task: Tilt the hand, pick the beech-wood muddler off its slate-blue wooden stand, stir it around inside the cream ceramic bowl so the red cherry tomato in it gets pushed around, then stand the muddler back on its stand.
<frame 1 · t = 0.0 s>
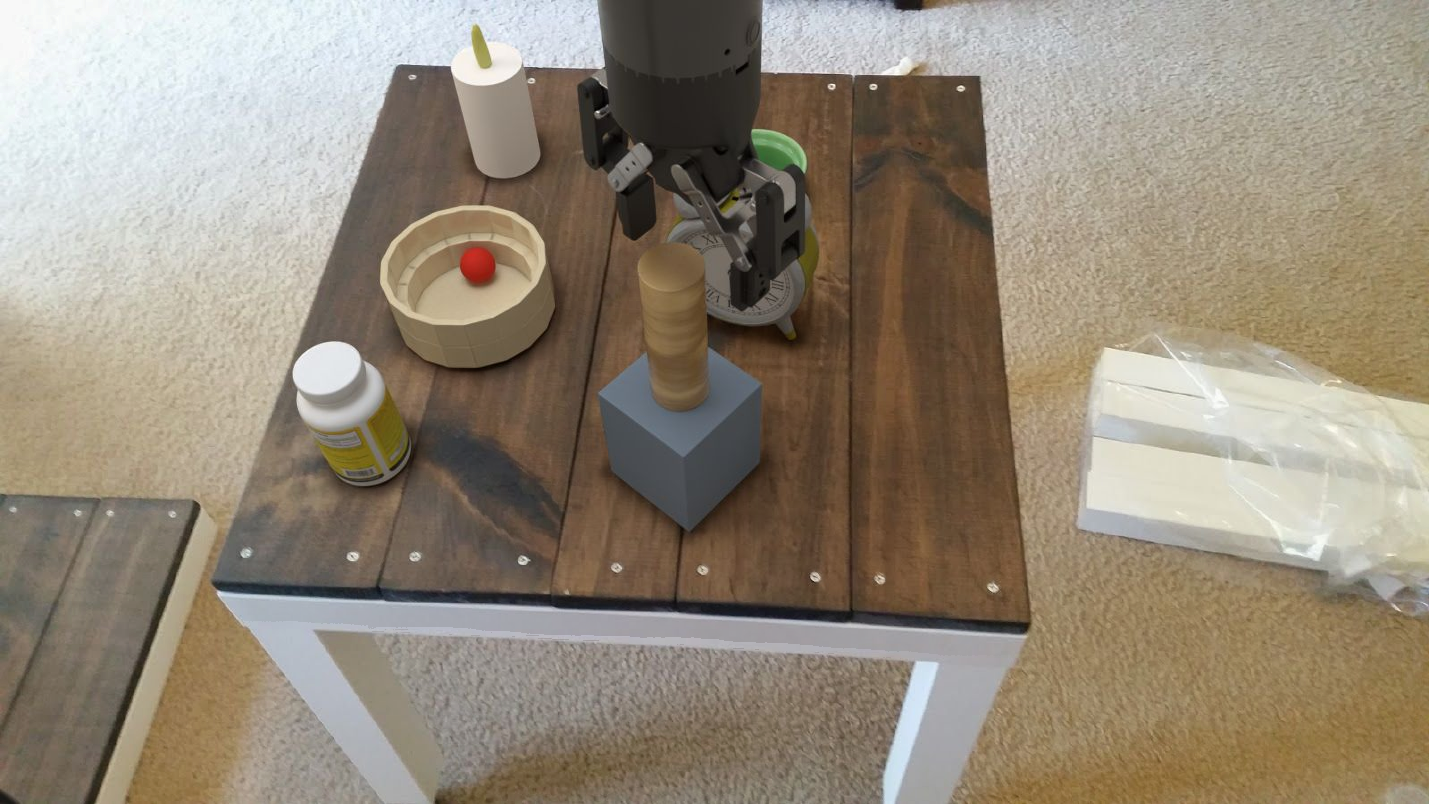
hand: (692, 265, 62), 22 cm above the table, tool pointing down, fingers open, 8 cm apart
stand: (685, 467, 80), on the table
bowl: (478, 311, 89), on the table
pill bottle: (373, 456, 81), on the table
ramekin: (756, 199, 97), on the table
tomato: (477, 265, 90), point 2 cm above the table, touching bowl
alarm clock: (744, 310, 89), on the table
candle: (508, 157, 101), on the table
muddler: (680, 388, 72), point 10 cm above the table, touching stand
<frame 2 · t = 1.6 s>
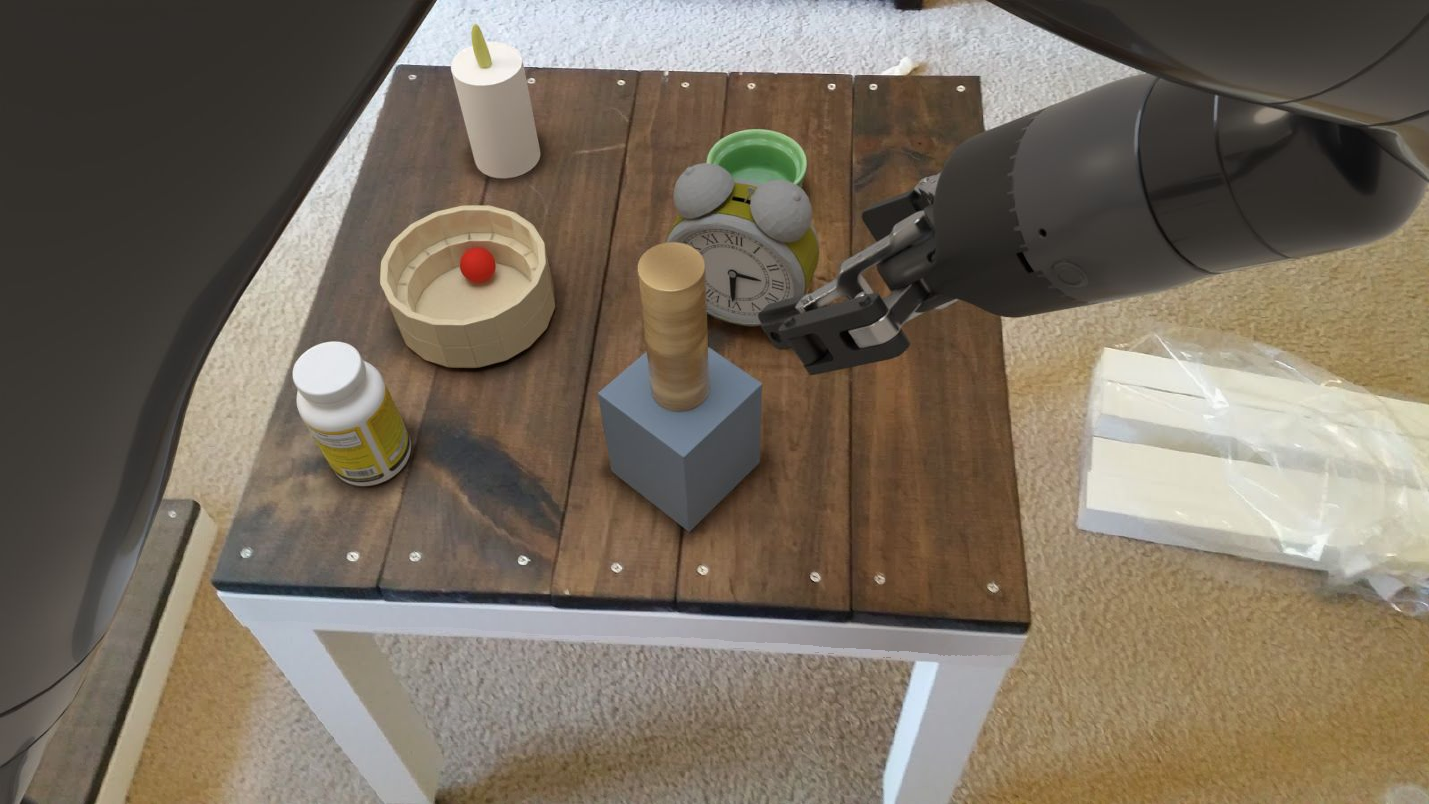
hand: (824, 276, 52), 29 cm above the table, tool tilted 45°, fingers open, 8 cm apart
nothing on the table moved.
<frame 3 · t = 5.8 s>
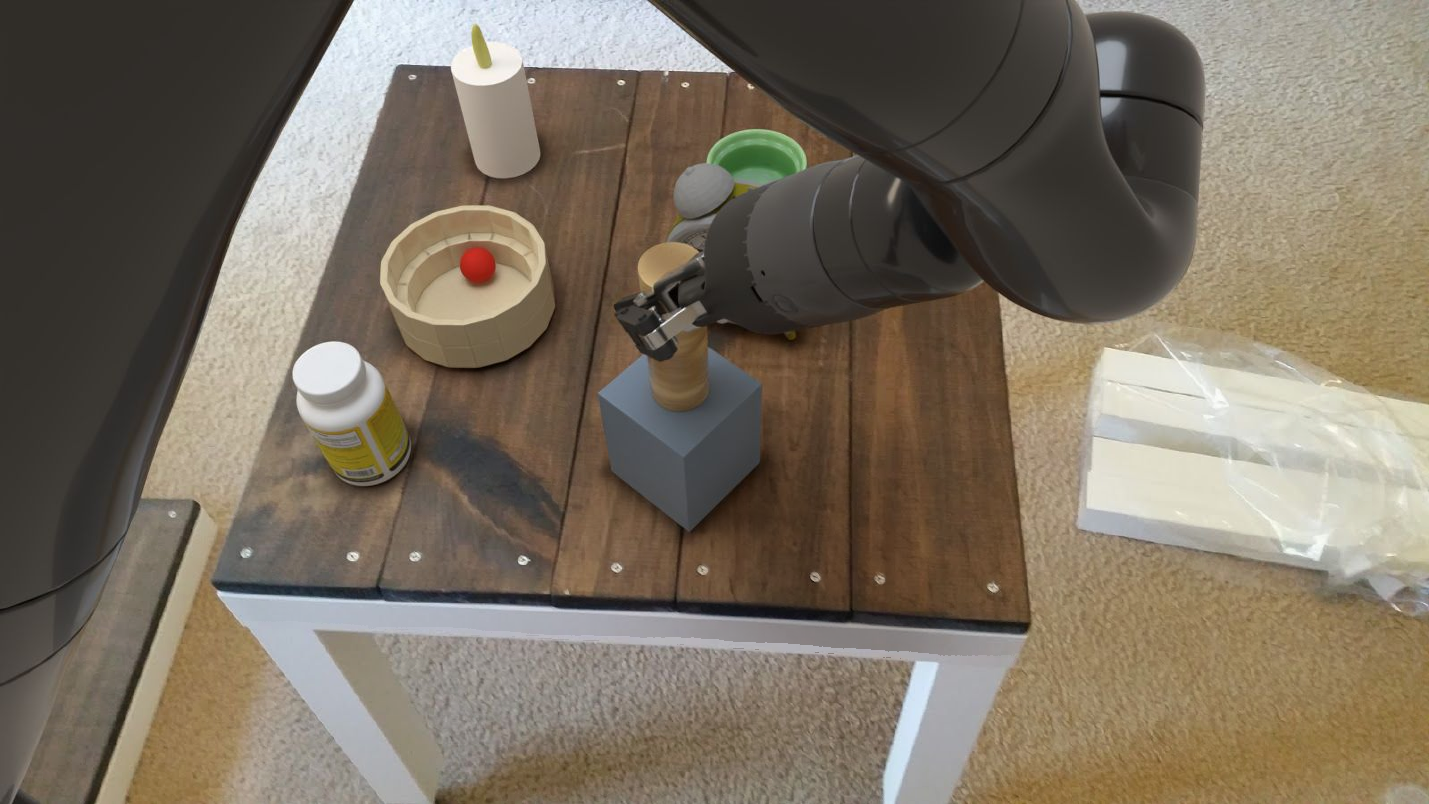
hand: (651, 295, 66), 18 cm above the table, tool tilted 45°, fingers closed on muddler, 4 cm apart
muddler: (680, 388, 71), point 10 cm above the table, touching gripper, stand
everything else where it was.
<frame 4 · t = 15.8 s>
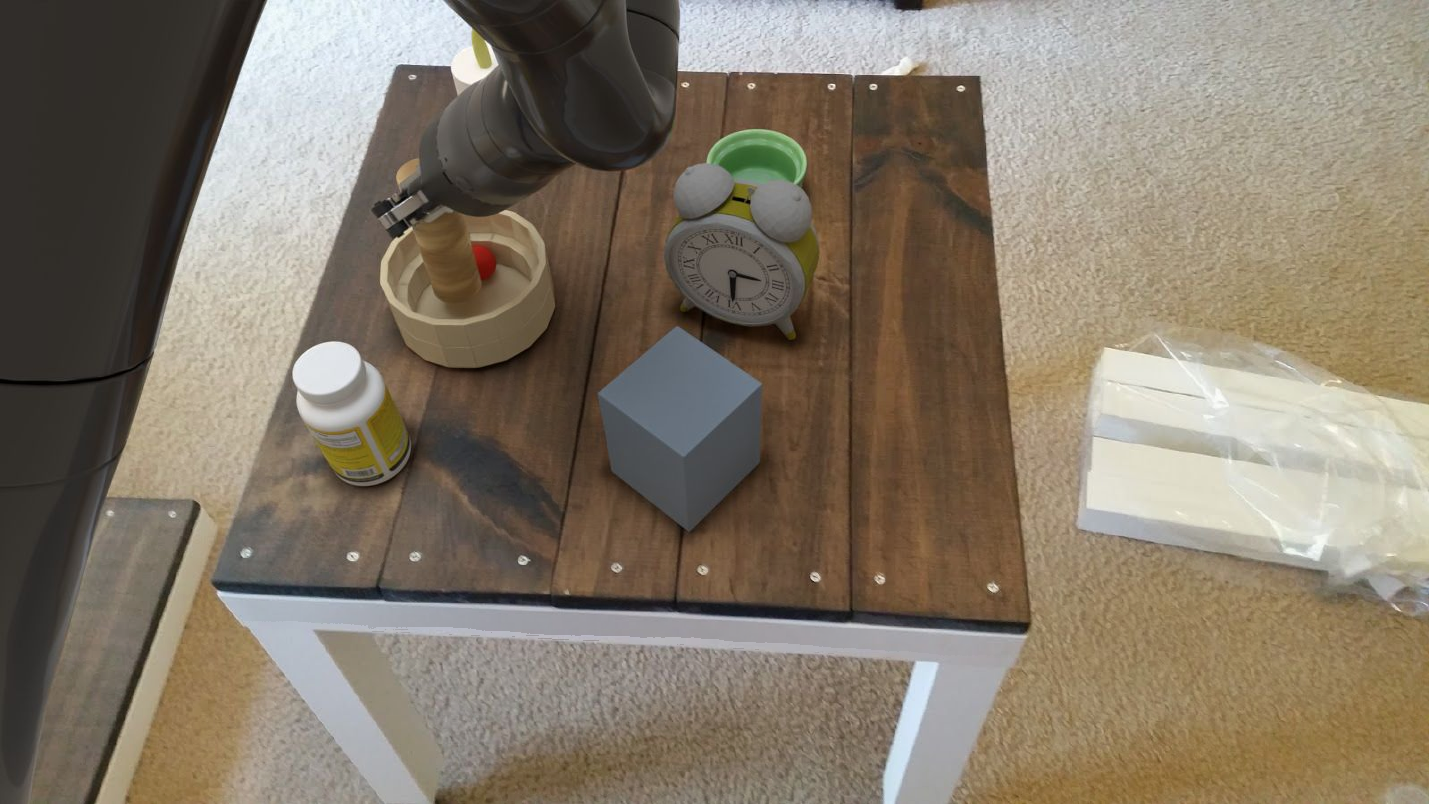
hand: (418, 202, 82), 11 cm above the table, tool tilted 45°, fingers closed on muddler, 4 cm apart
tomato: (478, 263, 90), point 2 cm above the table, tilted 8°, touching bowl, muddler
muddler: (457, 286, 87), point 3 cm above the table, touching gripper, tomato
everything else where it was.
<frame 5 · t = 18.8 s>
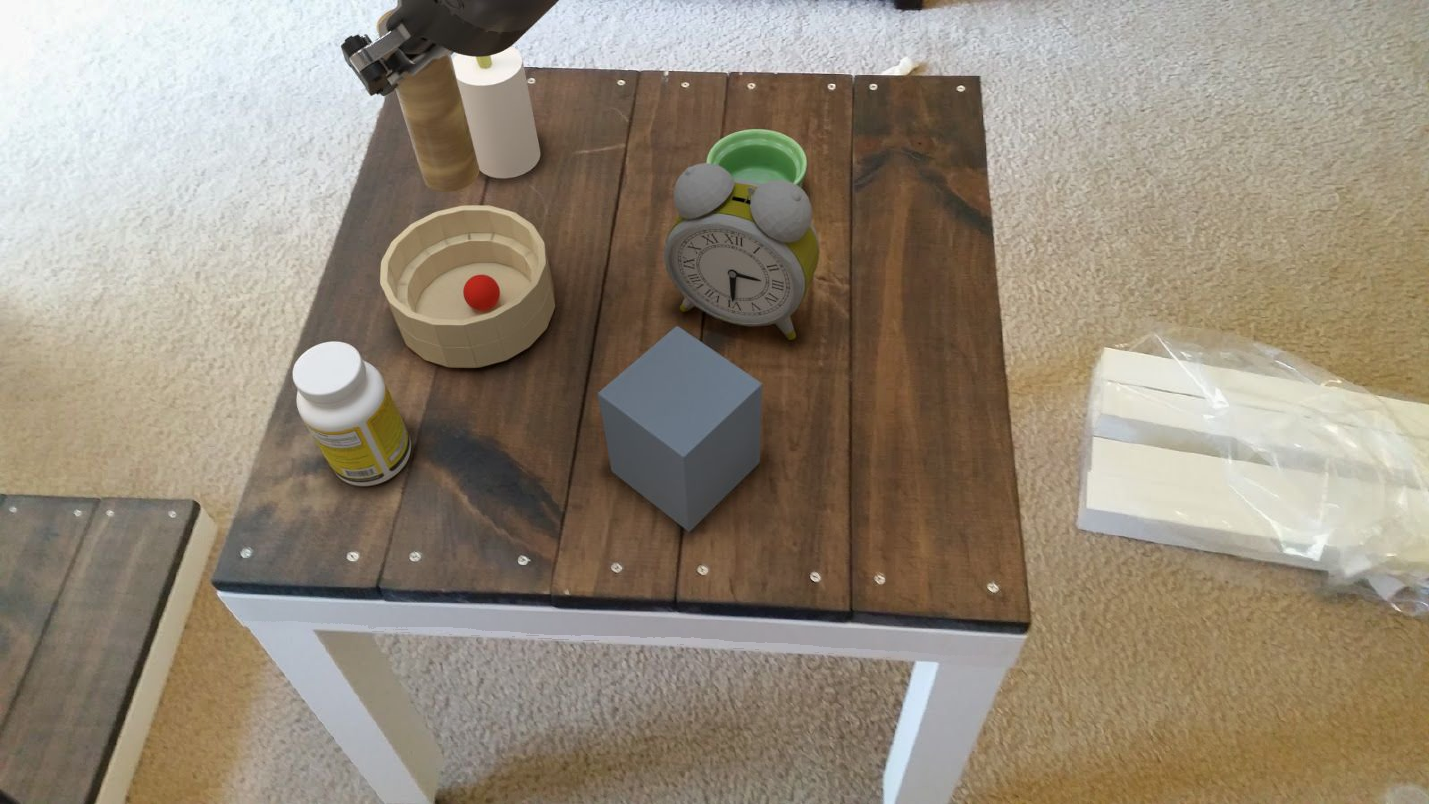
hand: (404, 64, 69), 25 cm above the table, tool tilted 45°, fingers closed on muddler, 4 cm apart
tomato: (481, 292, 88), point 2 cm above the table, tilted 123°, touching bowl
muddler: (451, 173, 75), point 17 cm above the table, touching gripper
everything else where it was.
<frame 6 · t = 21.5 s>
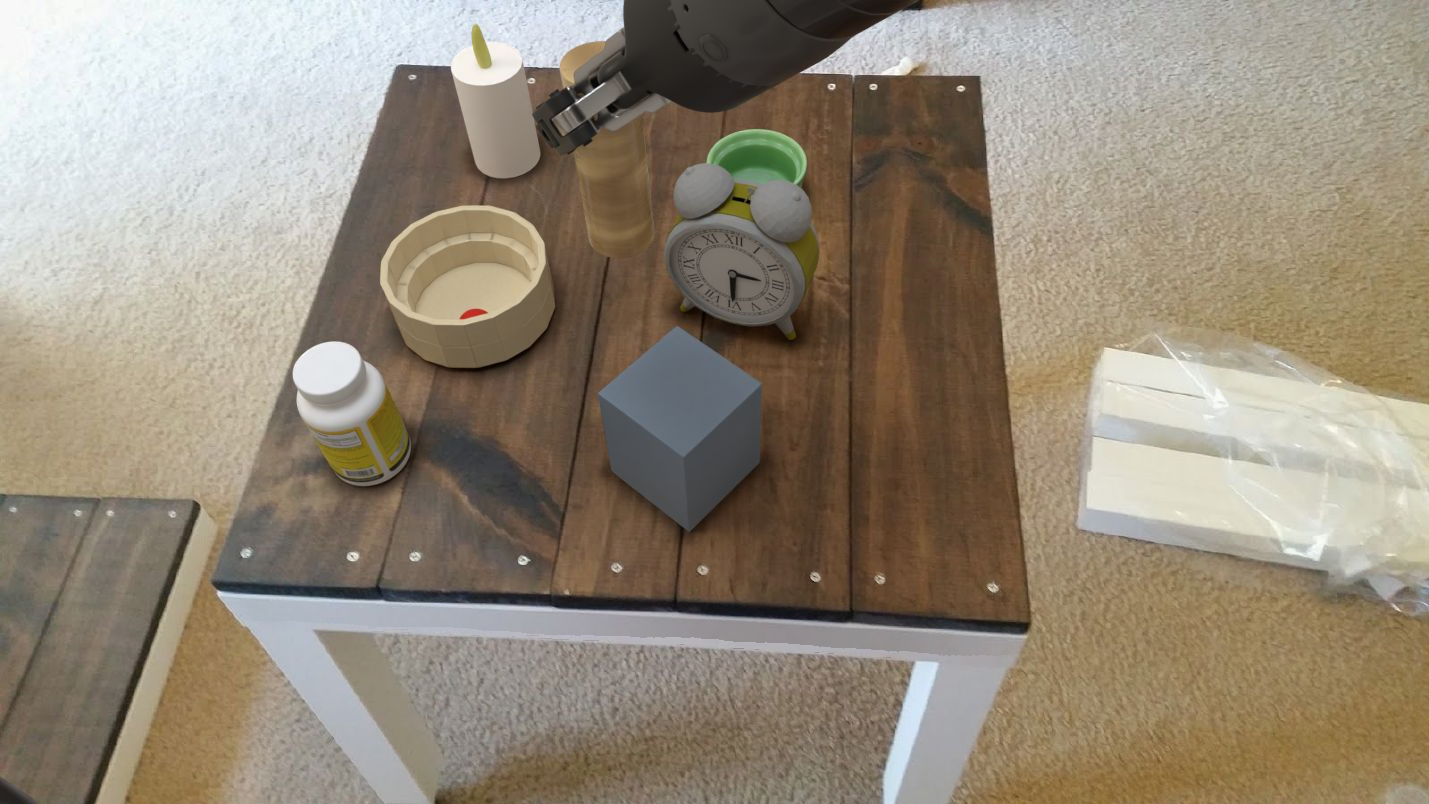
hand: (581, 111, 58), 30 cm above the table, tool tilted 45°, fingers closed on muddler, 4 cm apart
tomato: (476, 326, 85), point 2 cm above the table, tilted 93°, touching bowl
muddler: (621, 235, 63), point 22 cm above the table, touching gripper
everything else where it was.
when the fingers open (18 cm above the table, at t = 25.6 s): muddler stays where it is, resting on stand.
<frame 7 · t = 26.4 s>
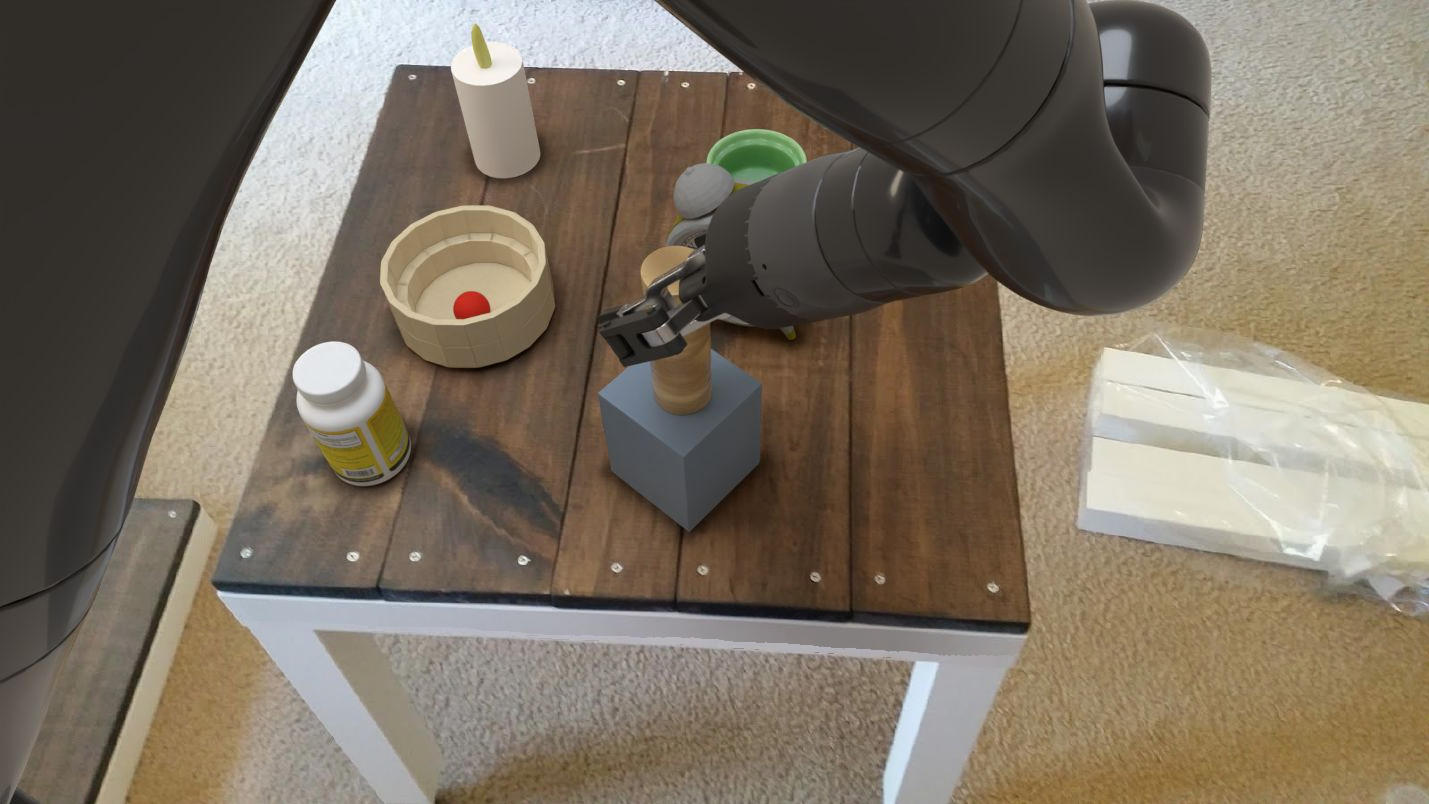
hand: (658, 288, 65), 19 cm above the table, tool tilted 45°, fingers open, 8 cm apart
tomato: (471, 309, 87), point 2 cm above the table, tilted 155°, touching bowl
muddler: (682, 391, 71), point 10 cm above the table, touching stand
everything else where it was.
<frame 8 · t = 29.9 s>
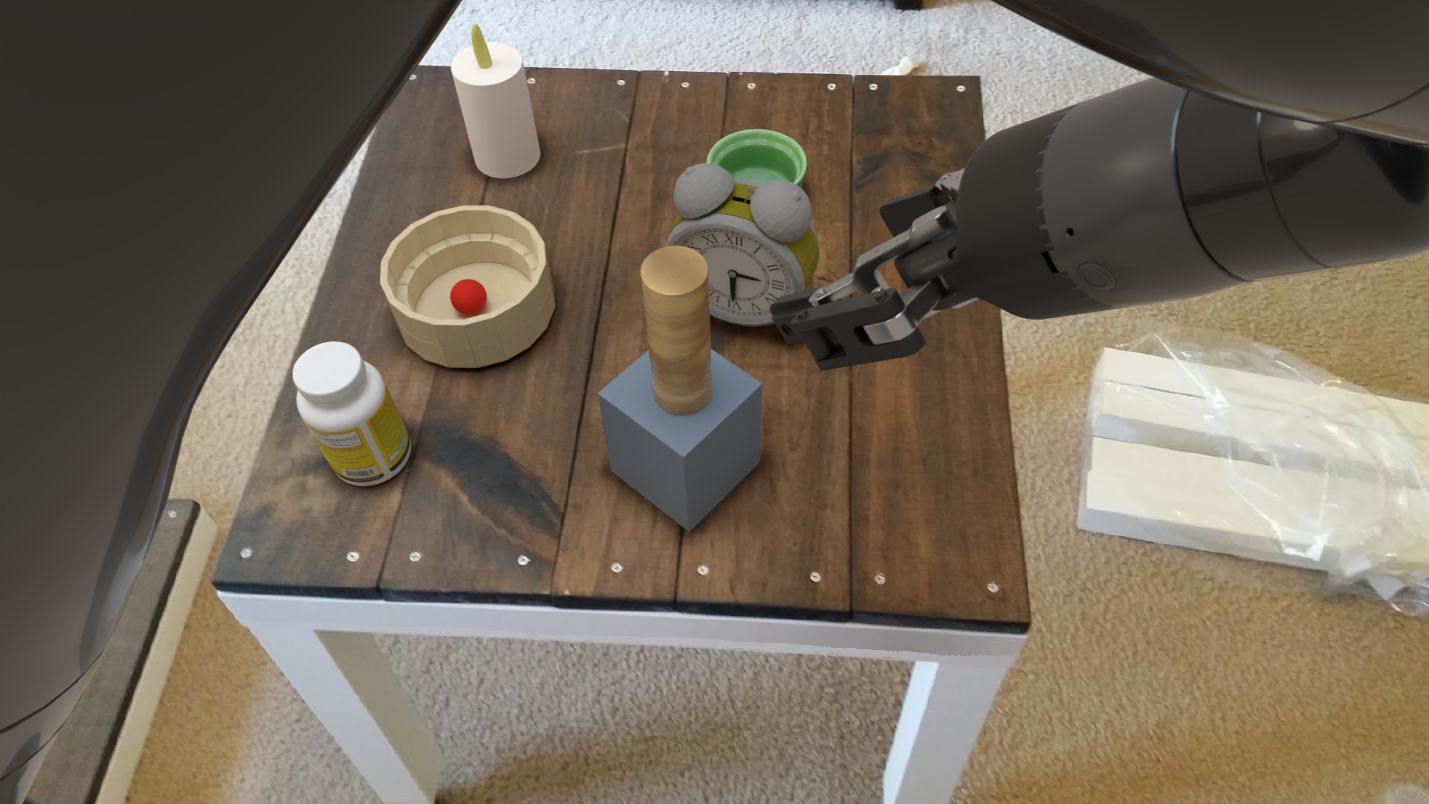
hand: (838, 270, 51), 30 cm above the table, tool tilted 45°, fingers open, 8 cm apart
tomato: (468, 296, 87), point 2 cm above the table, tilted 130°, touching bowl
everything else where it was.
at the end: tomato moved 3.6 cm from its start; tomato inside the target area in the bowl (0.4 cm from its centre), point 2.1 cm above the bowl's base; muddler 0.3 cm off-centre on the stand, point 10.0 cm above the stand's base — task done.
